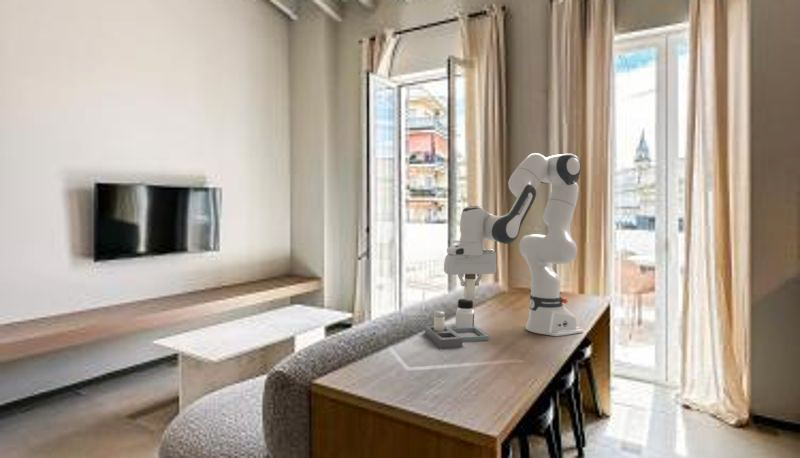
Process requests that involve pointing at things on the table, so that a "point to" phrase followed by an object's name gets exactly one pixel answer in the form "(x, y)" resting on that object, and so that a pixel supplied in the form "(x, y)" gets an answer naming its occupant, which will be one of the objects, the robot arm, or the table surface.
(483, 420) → the table surface
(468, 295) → the cylinder
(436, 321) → the dome-capped cream cylinder
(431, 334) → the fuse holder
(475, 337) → the parts tray
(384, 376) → the table surface
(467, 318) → the medicine bottle
